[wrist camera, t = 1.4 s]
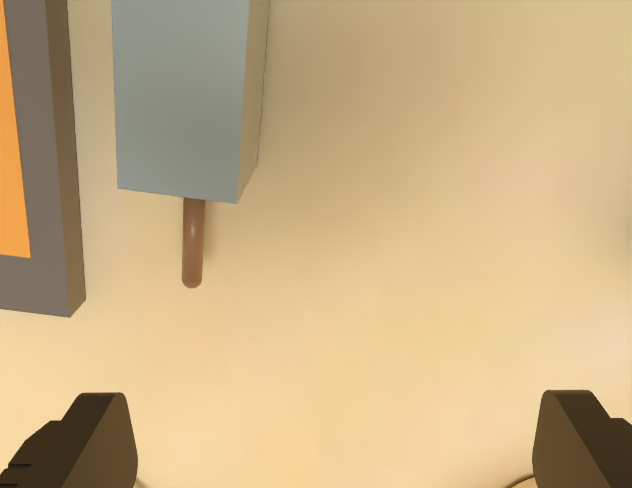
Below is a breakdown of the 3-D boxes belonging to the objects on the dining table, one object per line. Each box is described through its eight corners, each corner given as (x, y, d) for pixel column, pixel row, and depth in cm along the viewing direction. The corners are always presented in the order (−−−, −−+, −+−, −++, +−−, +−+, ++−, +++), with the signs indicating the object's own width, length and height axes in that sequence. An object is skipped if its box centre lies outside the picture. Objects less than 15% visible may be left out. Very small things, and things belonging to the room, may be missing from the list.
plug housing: (162, -207, 22) (102, -280, 16) (284, -190, 22) (265, -258, 16) (161, 256, 30) (121, 311, 25) (248, 267, 30) (228, 324, 25)
